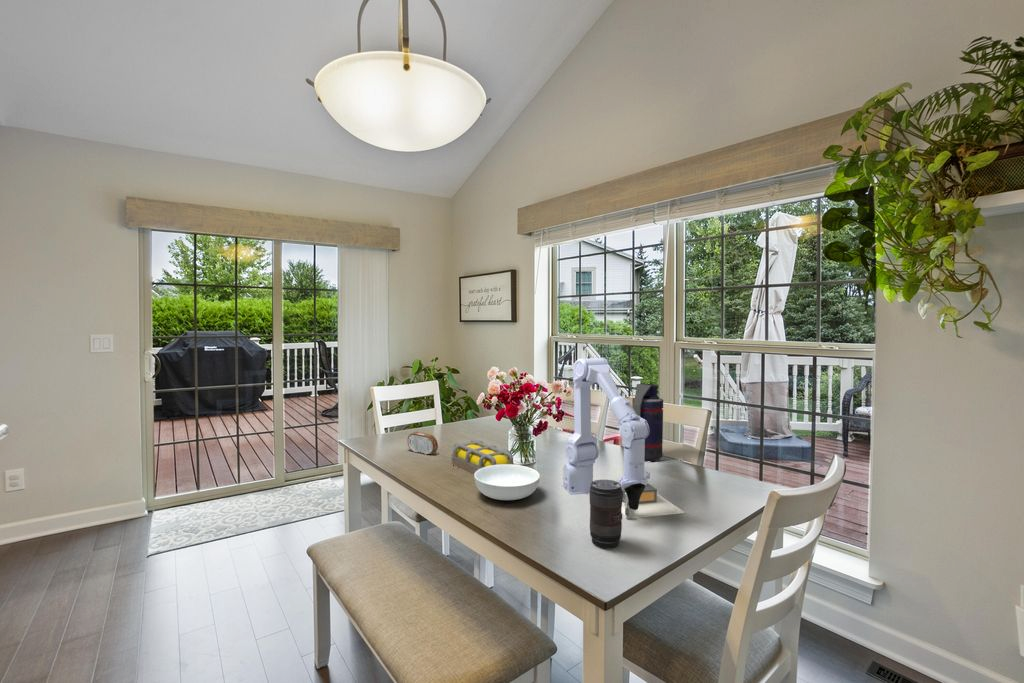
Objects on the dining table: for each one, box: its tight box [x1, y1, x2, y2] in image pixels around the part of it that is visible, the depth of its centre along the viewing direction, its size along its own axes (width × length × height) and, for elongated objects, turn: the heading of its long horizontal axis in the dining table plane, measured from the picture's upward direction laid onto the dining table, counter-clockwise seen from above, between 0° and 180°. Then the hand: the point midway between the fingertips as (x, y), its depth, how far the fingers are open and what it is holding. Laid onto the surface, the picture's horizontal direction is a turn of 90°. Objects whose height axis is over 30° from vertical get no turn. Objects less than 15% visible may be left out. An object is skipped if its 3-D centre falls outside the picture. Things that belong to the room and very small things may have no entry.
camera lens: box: [589, 479, 623, 550], centre depth 120 cm, size 8×8×15 cm
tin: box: [407, 431, 439, 455], centre depth 199 cm, size 15×3×8 cm, turn 58°
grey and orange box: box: [622, 482, 658, 504], centre depth 148 cm, size 11×6×5 cm, turn 103°
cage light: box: [451, 439, 515, 476], centre depth 180 cm, size 15×8×30 cm
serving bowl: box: [473, 464, 541, 501], centre depth 153 cm, size 21×21×7 cm
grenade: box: [631, 383, 664, 462], centre depth 192 cm, size 14×12×30 cm
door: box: [624, 493, 629, 519], centre depth 139 cm, size 10×1×4 cm, turn 168°
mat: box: [621, 493, 686, 519], centre depth 144 cm, size 18×16×1 cm
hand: (633, 508), depth 136 cm, fingers closed, pressing on door
